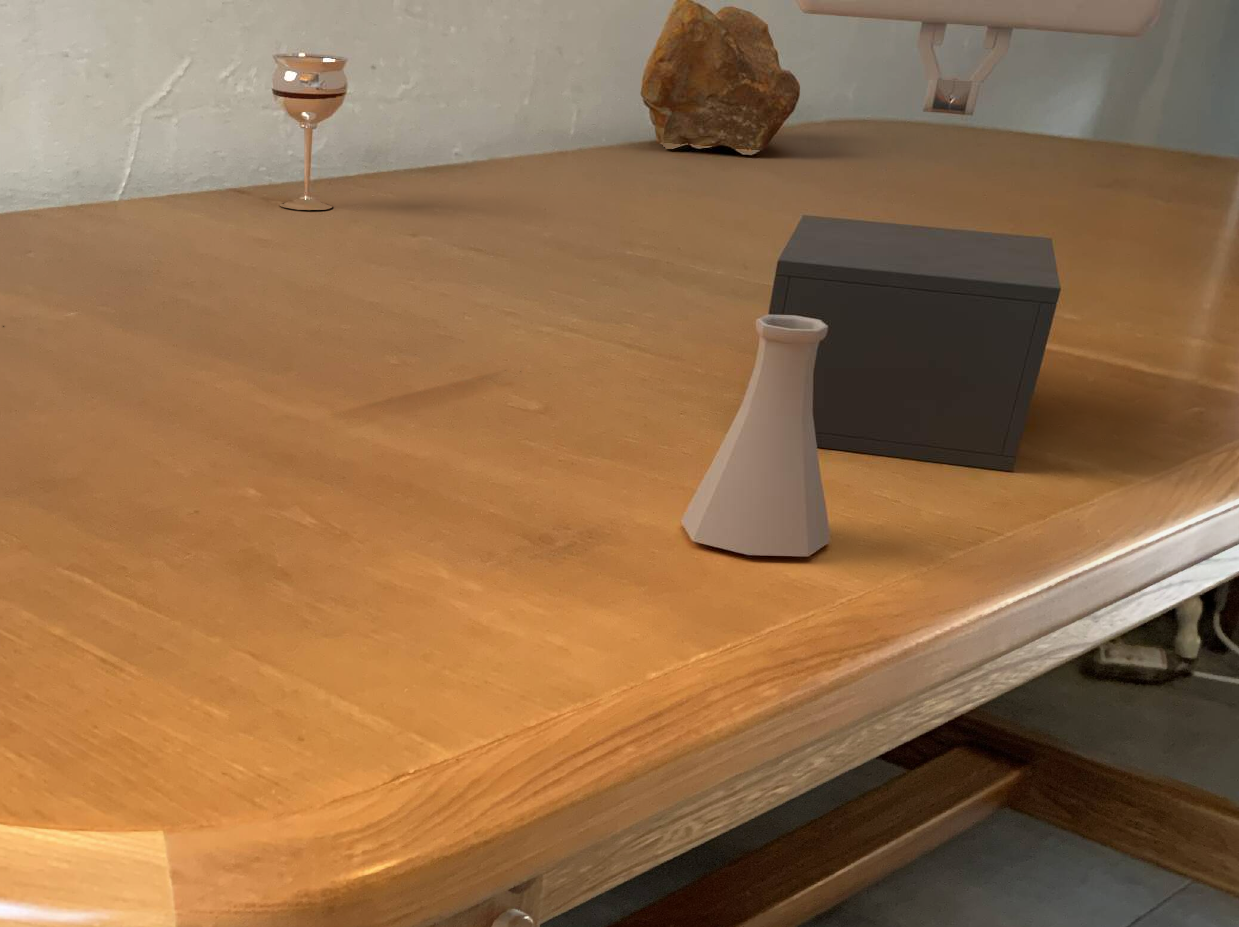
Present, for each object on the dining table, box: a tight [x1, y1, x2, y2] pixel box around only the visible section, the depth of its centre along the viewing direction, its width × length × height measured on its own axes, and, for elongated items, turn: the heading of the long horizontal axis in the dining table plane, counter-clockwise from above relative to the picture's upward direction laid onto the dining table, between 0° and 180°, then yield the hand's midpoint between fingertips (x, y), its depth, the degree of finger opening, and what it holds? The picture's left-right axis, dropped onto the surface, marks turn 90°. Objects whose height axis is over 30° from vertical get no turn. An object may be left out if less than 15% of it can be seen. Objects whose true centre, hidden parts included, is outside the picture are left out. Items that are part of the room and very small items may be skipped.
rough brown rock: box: [640, 0, 801, 150], centre depth 193 cm, size 23×17×15 cm
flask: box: [680, 314, 832, 557], centre depth 79 cm, size 7×7×10 cm
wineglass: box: [271, 52, 349, 200], centre depth 151 cm, size 7×7×12 cm
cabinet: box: [767, 214, 1062, 473], centre depth 98 cm, size 16×15×10 cm
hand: (947, 112), depth 101 cm, fingers closed
